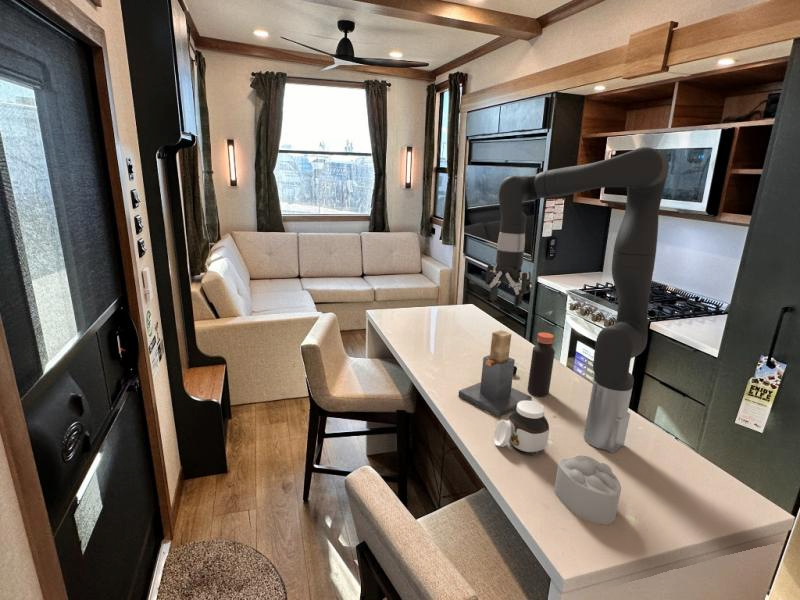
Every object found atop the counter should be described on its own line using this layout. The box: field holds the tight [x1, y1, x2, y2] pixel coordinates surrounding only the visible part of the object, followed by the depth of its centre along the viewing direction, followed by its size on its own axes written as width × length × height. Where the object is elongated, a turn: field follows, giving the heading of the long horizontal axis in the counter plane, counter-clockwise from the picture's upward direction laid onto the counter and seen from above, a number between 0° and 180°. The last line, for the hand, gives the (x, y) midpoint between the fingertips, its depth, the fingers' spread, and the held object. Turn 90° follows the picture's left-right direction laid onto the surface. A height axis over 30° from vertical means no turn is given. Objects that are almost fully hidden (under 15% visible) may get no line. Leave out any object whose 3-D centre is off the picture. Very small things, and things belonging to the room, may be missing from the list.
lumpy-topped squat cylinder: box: [553, 455, 622, 526], centre depth 97 cm, size 10×13×9 cm
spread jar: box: [493, 400, 550, 455], centre depth 116 cm, size 12×11×12 cm
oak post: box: [489, 329, 512, 363], centre depth 138 cm, size 4×4×20 cm
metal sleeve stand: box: [457, 354, 533, 419], centre depth 139 cm, size 16×16×14 cm
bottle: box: [527, 331, 556, 398], centre depth 145 cm, size 7×7×20 cm
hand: (505, 303), depth 132 cm, fingers open, 8 cm apart
